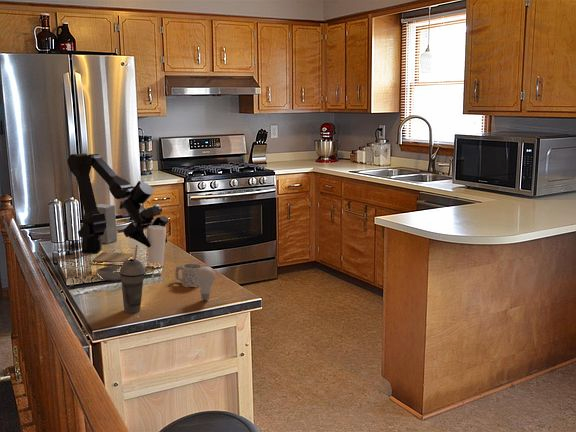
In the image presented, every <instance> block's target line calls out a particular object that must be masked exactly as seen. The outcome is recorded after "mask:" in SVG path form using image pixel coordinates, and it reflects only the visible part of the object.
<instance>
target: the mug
mask: <svg viewBox="0 0 576 432" xmlns="http://www.w3.org/2000/svg"><path fill="white" fill-rule="evenodd" d="M202 267H203V265H201V264H199V263H185V264H183V265H177V266H176V267H175V271H174V272H175V273H174V275H175V279H176V280H178V281H180V282H181V286H182V285H183V286H182V287H184V286H186V287H185V288H187V287H195V286H199V284H198V282H197V280H196V273H197V271H198V270H199V269H200V268H202ZM181 270H182V271H181ZM179 271H181V274H182V275H181V277H180V276H179Z"/></svg>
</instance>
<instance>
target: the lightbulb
mask: <svg viewBox="0 0 576 432" xmlns="http://www.w3.org/2000/svg"><path fill="white" fill-rule="evenodd" d="M216 278H217V276H216V272H215V271H214V268H212V267H211V266H202V268H200V269H199V270H198V271H197V273H196V280H197V282H198V284H199V286H200V287H199V289H200V295H201V297H200V298H201V300H203V301H204V300H206V301H207V300H209V299H210V293H211V292H212V291H211V289H212V286H213V284H214V283H215V281H216Z"/></svg>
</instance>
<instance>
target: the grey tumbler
mask: <svg viewBox="0 0 576 432" xmlns="http://www.w3.org/2000/svg"><path fill="white" fill-rule="evenodd" d="M166 229H167V228H166V226H165V227H164V226H157V225H154V226H148V227H147V228H146V237H147V239H148V241H149V243H150V245H151V246H150V247H147V256H148V257H147V259H148V260H147V261H148V262H150V263H159V264H160V265H162V267H164V256H165V246H166V243H165V239H166V237H167V233H166V232H167V230H166Z"/></svg>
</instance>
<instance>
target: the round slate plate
mask: <svg viewBox="0 0 576 432" xmlns="http://www.w3.org/2000/svg"><path fill="white" fill-rule="evenodd" d="M120 267H121V266H120V265H107V266H104V267H100V268H98V269H97V270H96V274H97V273H98V274H99V275H100V276H101V277H102V278H103V279H102V280H103V281H113V282H114V281H115V282H117V281H121V278H120V272H114V273H113V271H117V269H119V268H120Z"/></svg>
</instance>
